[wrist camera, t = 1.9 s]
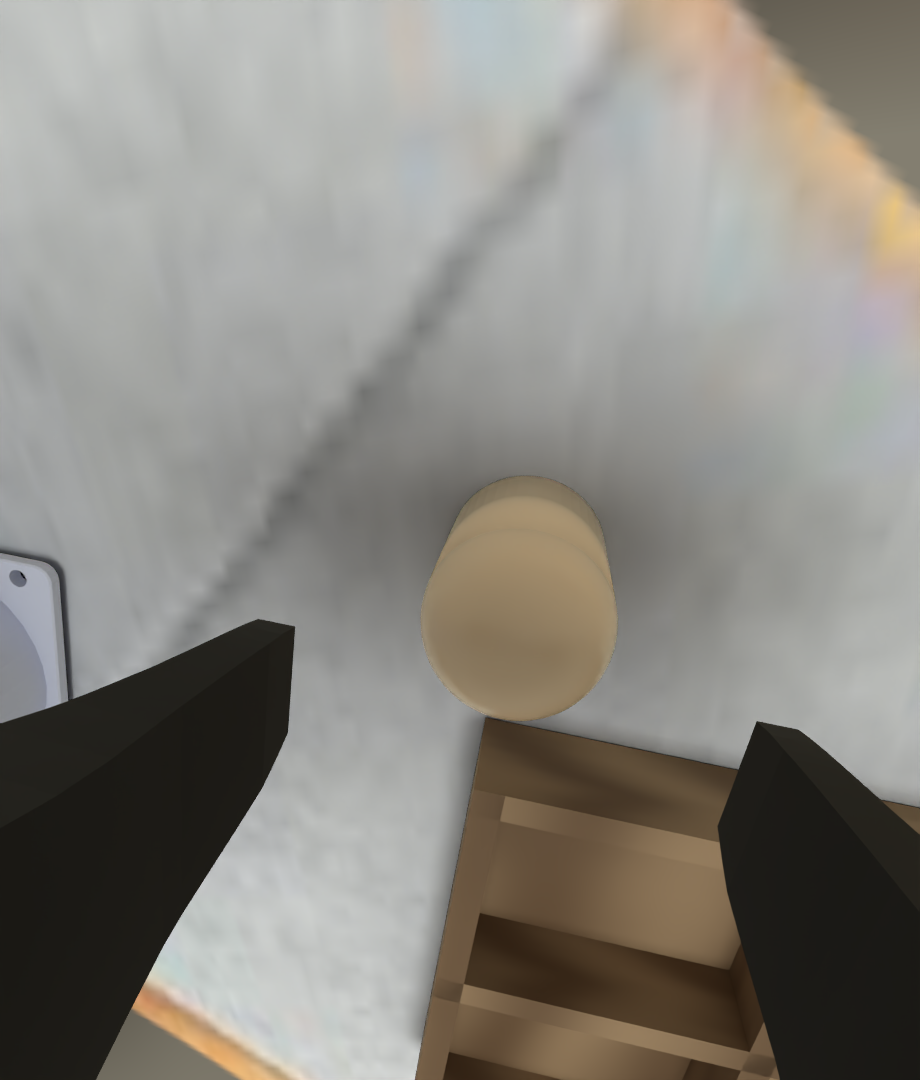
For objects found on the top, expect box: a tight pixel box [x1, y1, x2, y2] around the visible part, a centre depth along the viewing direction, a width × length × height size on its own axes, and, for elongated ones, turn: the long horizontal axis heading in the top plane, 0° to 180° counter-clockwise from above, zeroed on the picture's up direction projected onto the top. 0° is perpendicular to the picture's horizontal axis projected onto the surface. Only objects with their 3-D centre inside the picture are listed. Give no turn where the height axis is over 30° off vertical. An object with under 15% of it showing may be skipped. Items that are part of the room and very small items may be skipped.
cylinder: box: [421, 476, 618, 721], centre depth 15 cm, size 4×4×6 cm
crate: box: [415, 718, 920, 1080], centre depth 20 cm, size 18×14×3 cm
